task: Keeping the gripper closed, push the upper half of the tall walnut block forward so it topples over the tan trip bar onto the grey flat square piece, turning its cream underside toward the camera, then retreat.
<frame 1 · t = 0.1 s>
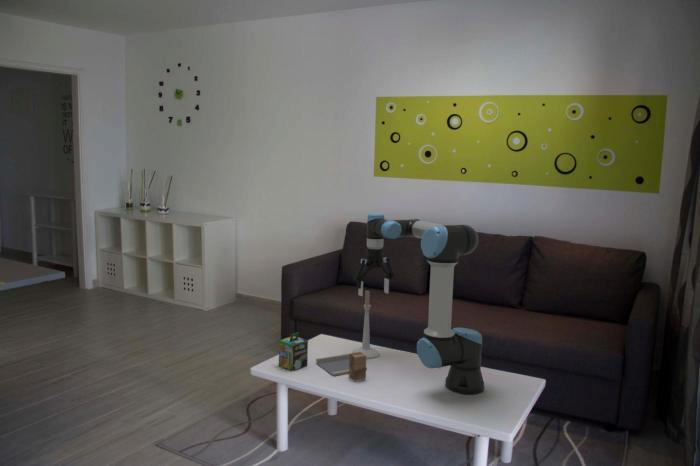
hand: (373, 294, 260), 28 cm above the table, fingers open, 13 cm apart
grey flat square piece: (341, 367, 246), on the table
candlestick: (365, 354, 263), on the table
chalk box: (293, 366, 246), on the table
block: (357, 378, 234), on the table
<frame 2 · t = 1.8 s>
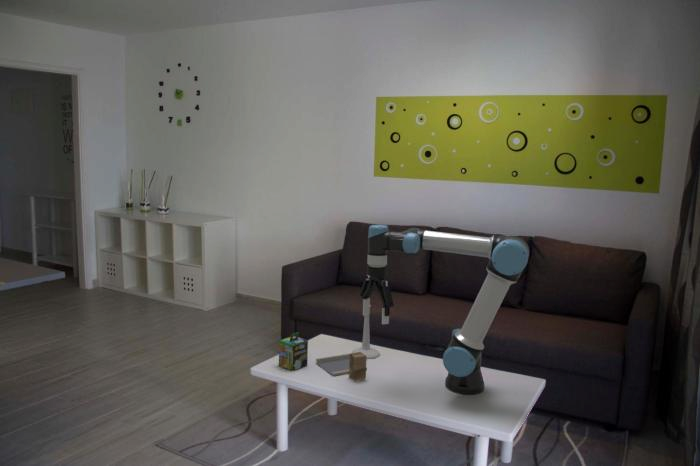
hand: (375, 319, 223), 27 cm above the table, fingers open, 13 cm apart
nothing on the table moved.
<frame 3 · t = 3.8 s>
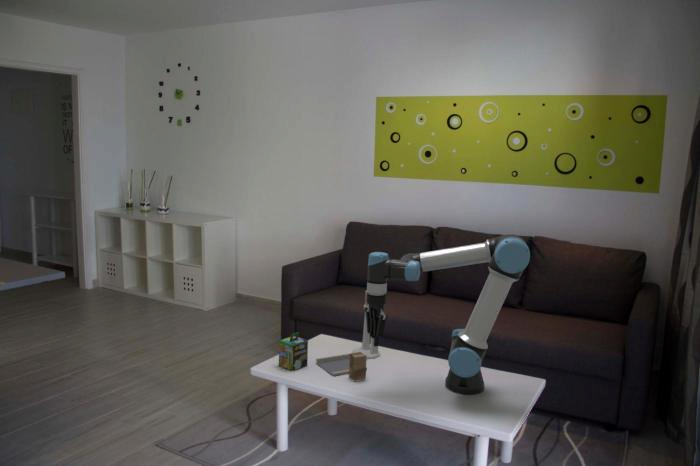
hand: (374, 353, 221), 15 cm above the table, fingers closed
nothing on the table moved.
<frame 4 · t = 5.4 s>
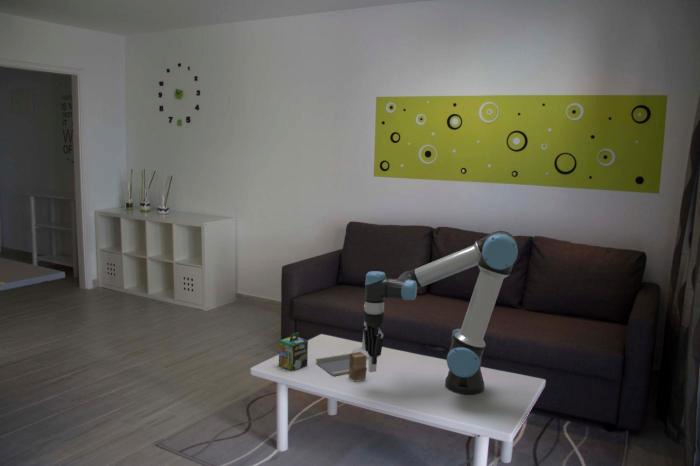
hand: (372, 371, 223), 7 cm above the table, fingers closed
nothing on the table moved.
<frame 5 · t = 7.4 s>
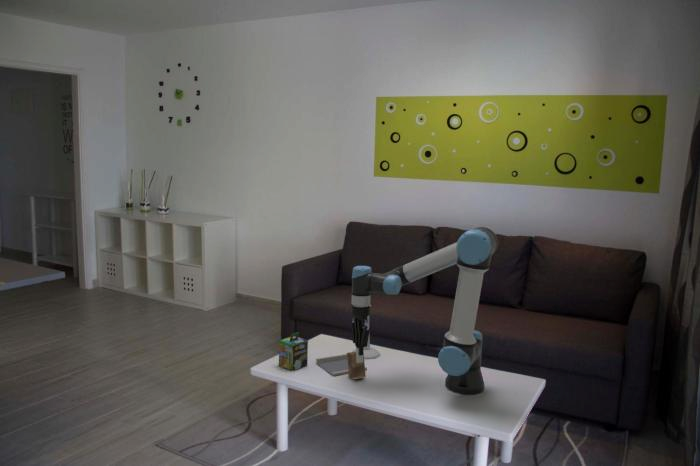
hand: (359, 362, 232), 7 cm above the table, fingers closed
block: (357, 377, 234), on the table, tilted 13°, touching gripper
everything else where it was.
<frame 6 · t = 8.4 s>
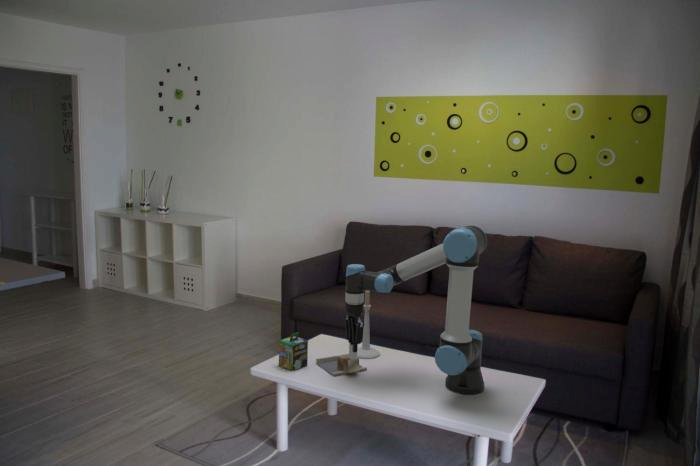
hand: (352, 358, 236), 7 cm above the table, fingers closed
block: (354, 365, 236), point 4 cm above the table, tilted 99°, touching gripper, grey flat square piece
everything else where it was.
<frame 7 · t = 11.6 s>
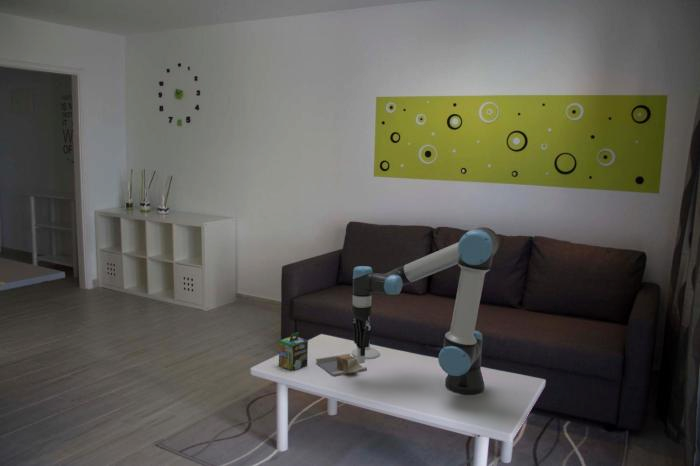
hand: (360, 362, 231), 7 cm above the table, fingers closed
block: (353, 365, 236), point 4 cm above the table, tilted 98°, touching grey flat square piece
everything else where it was.
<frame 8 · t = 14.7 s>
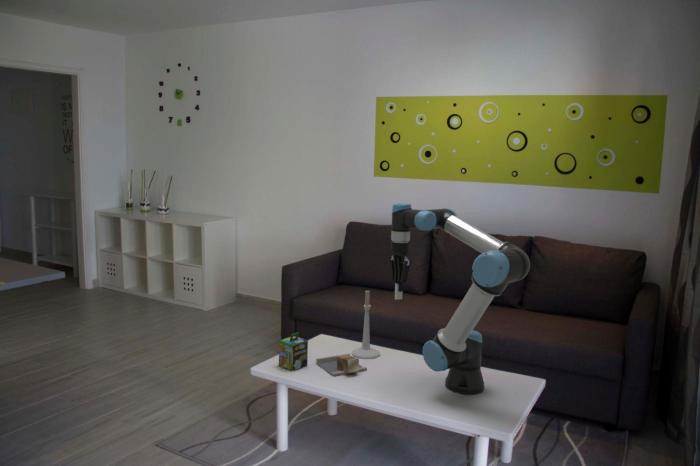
hand: (398, 298, 234), 32 cm above the table, fingers closed
nothing on the table moved.
at the end: block tilted 98°; block inside the target area (9.8 cm from its centre), point 4.3 cm above the table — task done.
